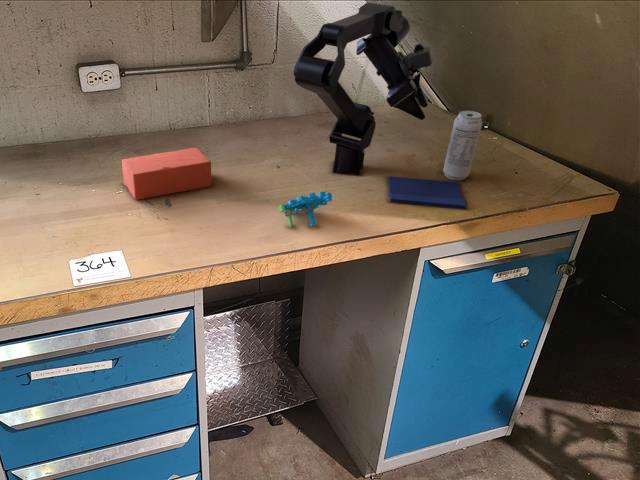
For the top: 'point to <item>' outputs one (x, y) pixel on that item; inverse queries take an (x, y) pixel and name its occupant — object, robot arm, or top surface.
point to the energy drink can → (462, 145)
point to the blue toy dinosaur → (305, 206)
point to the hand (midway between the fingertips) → (425, 112)
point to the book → (426, 192)
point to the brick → (166, 173)
